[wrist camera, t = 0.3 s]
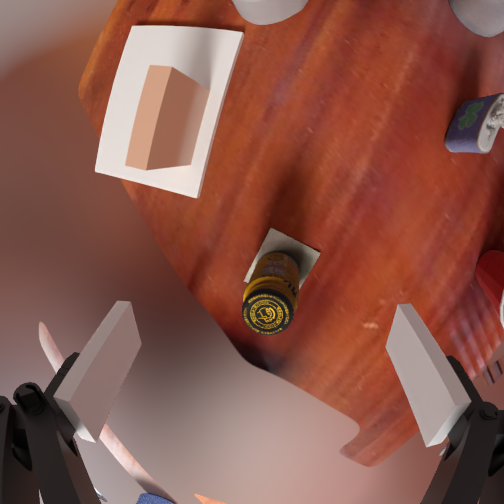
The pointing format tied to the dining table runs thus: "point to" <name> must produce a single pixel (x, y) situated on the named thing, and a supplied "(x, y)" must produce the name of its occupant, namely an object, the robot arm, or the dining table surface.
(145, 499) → the water jug
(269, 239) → the condiment
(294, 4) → the lumpy-topped squat cylinder
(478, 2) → the pillar candle
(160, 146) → the tile
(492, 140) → the flask
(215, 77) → the board
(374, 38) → the dining table surface
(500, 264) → the plastic cup
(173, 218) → the dining table surface
